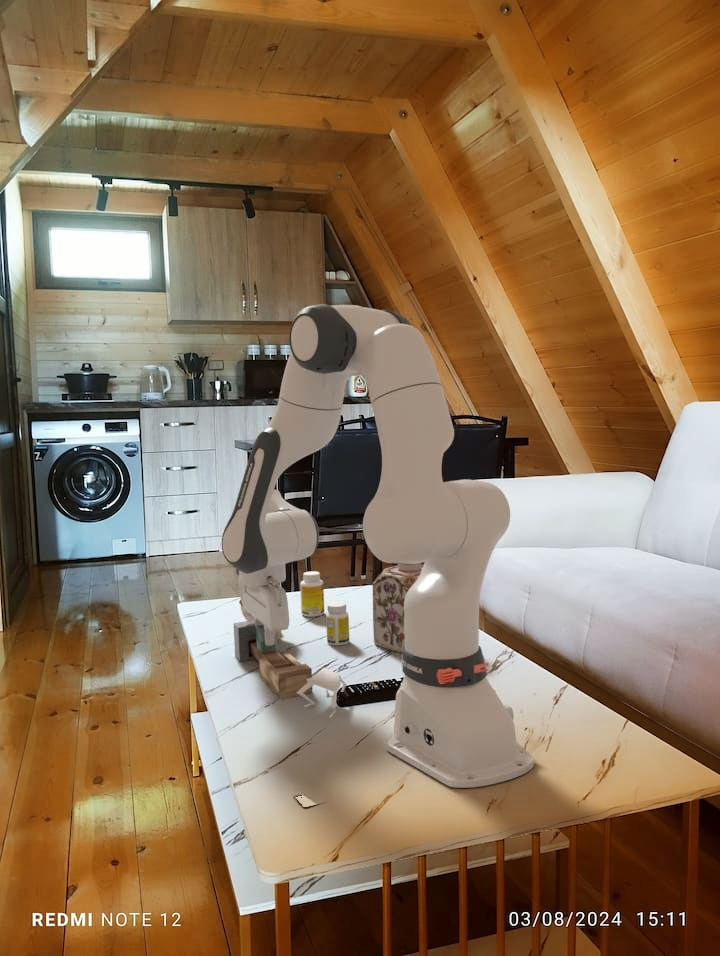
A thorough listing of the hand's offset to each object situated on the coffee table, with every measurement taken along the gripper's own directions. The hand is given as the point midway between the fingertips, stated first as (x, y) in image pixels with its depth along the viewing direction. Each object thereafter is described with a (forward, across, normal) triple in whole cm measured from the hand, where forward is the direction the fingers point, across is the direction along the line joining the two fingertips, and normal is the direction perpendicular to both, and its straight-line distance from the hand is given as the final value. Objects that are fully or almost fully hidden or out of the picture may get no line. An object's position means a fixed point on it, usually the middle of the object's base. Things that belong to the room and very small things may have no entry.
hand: (265, 641), depth 152 cm
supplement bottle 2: (+5, +7, -18) cm, 20 cm away
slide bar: (+4, -2, 0) cm, 4 cm away
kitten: (+5, +17, -5) cm, 18 cm away
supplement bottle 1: (+5, +30, -21) cm, 37 cm away
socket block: (+5, +7, 0) cm, 9 cm away
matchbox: (+6, -51, +10) cm, 52 cm away
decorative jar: (+5, -2, -31) cm, 32 cm away
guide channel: (+5, -11, 0) cm, 12 cm away
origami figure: (+5, -24, -3) cm, 25 cm away
